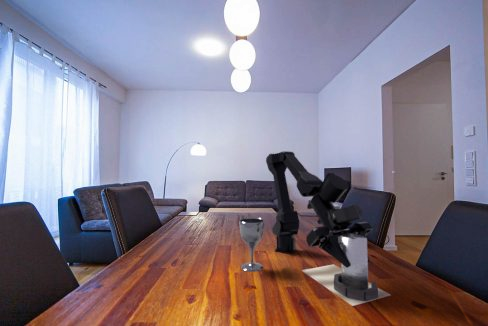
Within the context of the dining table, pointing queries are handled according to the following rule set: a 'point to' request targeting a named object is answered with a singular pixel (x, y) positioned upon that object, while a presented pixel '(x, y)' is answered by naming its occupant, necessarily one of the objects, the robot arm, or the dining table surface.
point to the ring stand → (333, 282)
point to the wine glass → (251, 239)
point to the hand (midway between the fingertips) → (358, 264)
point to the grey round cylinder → (355, 261)
